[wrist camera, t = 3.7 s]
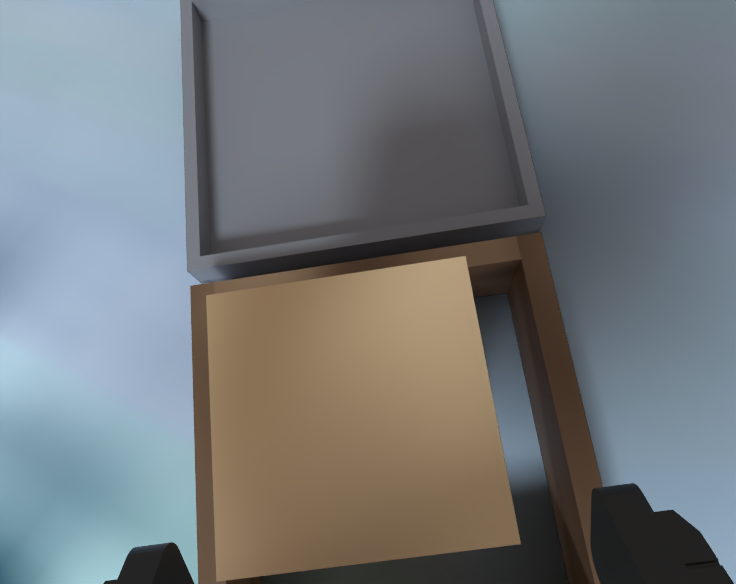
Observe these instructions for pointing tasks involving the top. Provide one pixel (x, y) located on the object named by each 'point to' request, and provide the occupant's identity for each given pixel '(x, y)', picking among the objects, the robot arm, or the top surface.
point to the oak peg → (353, 422)
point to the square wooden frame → (540, 364)
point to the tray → (347, 133)
